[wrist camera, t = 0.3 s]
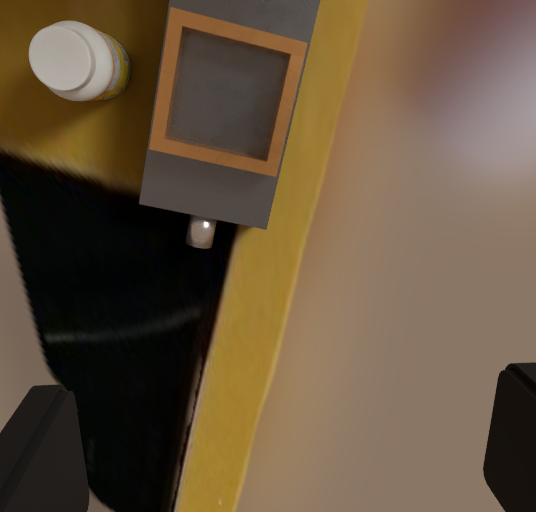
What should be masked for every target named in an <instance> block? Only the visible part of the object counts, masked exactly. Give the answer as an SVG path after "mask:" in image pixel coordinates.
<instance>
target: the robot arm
mask: <svg viewBox="0 0 536 512" xmlns="http://www.w3.org/2000/svg"><path fill="white" fill-rule="evenodd" d="M483 471H484V477H485V480H486V483H487V485H488V486H489V488H490V489H491V491H492V492H493V494H494V495H495V497H496V498H497V500H498V501H499V503H500V504H501V506H502V507H503V509H504V510H505V512H536V363H513V364H512V363H511V364H509V365H508V366H507V367H506V368H505V370H503V371H501V372H500V374H499V377H498V382H497V388H496V394H495V400H494V406H493V412H492V418H491V424H490V430H489V436H488V442H487V448H486V454H485V461H484V467H483ZM88 505H89V487H88V481H87V475H86V468H85V462H84V455H83V449H82V442H81V436H80V429H79V423H78V416H77V410H76V403H75V397H74V394H73V392H72V391H66V390H65V388H64V386H63V385H41V386H33V387H32V388H31V389H30V390H29V392H28V393H27V395H26V396H25V398H24V399H23V400H22V402H21V404H20V405H19V406H18V408H17V409H16V411H15V412H14V414H13V415H12V417H11V418H10V419H9V421H8V422H7V424H6V425H5V427H4V428H3V430H2V431H1V433H0V512H87V510H88Z"/></svg>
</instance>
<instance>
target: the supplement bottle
mask: <svg viewBox="0 0 536 512" xmlns="http://www.w3.org/2000/svg"><path fill="white" fill-rule="evenodd" d="M29 62H30V65H31V68H32V70H33V72H34V74H35V75H36V76H37V78H38V79H39V80H40V81H41V82H42V83H44V84H45V85H46V86H47V87H48V88H49V89H50V90H51V91H52V92H54V93H55V94H57V95H58V96H60V97H62V98H65V99H68V100H72V101H99V100H107V99H110V98H113V97H115V96H117V95H119V94H120V93H121V92H122V91H123V90H124V89H125V87H126V86H127V84H128V81H129V77H130V62H129V58H128V56H127V54H126V52H125V50H124V48H123V47H122V46H121V45H120V44H119V42H118V41H116V40H115V39H114V38H112V37H111V36H109V35H107V34H105V33H103V32H101V31H98V30H97V29H94V28H92V27H90V26H88V25H86V24H84V23H81V22H77V21H61V22H57V23H54V24H52V25H51V26H49V27H46V28H43V29H41V30H40V31H39V32H37V33H36V35H35V36H34V37H33V39H32V41H31V43H30V46H29Z"/></svg>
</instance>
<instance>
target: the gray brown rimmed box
mask: <svg viewBox="0 0 536 512" xmlns="http://www.w3.org/2000/svg"><path fill="white" fill-rule="evenodd" d="M319 3H320V0H169V6H168V13H167V19H166V26H165V33H164V39H163V46H162V53H161V59H160V66H159V73H158V80H157V86H156V93H155V100H154V106H153V113H152V120H151V126H150V133H149V140H148V147H147V153H146V160H145V167H144V173H143V180H142V187H141V193H140V200H139V204H142V205H147V206H152V207H157V208H162V209H166V210H171V211H176V212H181V213H186V214H191V215H190V220H189V226H188V231H187V237H186V243H187V244H188V245H191V246H193V247H197V248H211V247H212V243H213V238H214V233H215V228H216V223H217V220H221V221H226V222H231V223H236V224H241V225H246V226H251V227H256V228H260V229H265V230H266V229H267V224H268V220H269V216H270V212H271V207H272V203H273V199H274V195H275V190H276V186H277V182H278V178H279V173H280V169H281V165H282V161H283V156H284V152H285V148H286V144H287V139H288V135H289V131H290V127H291V122H292V118H293V114H294V109H295V105H296V101H297V97H298V92H299V88H300V84H301V80H302V75H303V71H304V67H305V63H306V58H307V54H308V50H309V46H310V41H311V37H312V33H313V29H314V24H315V20H316V16H317V12H318V7H319Z"/></svg>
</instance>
